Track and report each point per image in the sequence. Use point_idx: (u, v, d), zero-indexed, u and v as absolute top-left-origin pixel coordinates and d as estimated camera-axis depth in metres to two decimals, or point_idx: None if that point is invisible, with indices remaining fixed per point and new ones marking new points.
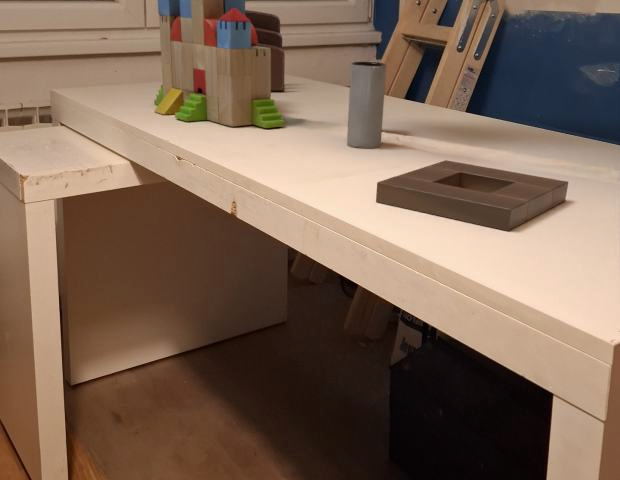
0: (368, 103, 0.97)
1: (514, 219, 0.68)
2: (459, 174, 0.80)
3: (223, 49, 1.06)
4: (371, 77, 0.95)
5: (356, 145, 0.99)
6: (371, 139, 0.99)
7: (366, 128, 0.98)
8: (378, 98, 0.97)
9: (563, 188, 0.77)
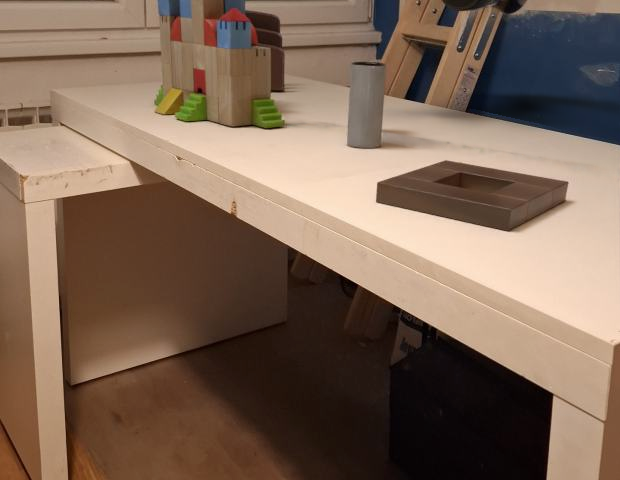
0: (368, 103, 0.97)
1: (514, 219, 0.68)
2: (459, 174, 0.80)
3: (223, 49, 1.06)
4: (371, 77, 0.95)
5: (356, 145, 0.99)
6: (371, 139, 0.99)
7: (366, 128, 0.98)
8: (378, 98, 0.97)
9: (563, 188, 0.77)
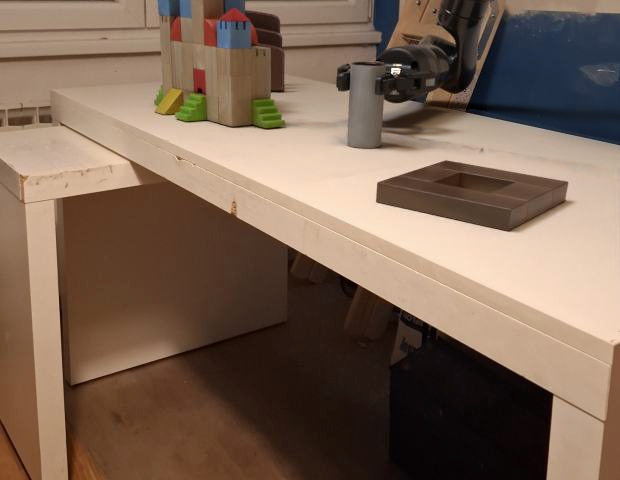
0: (368, 103, 0.97)
1: (514, 219, 0.68)
2: (459, 174, 0.80)
3: (223, 49, 1.06)
4: (371, 77, 0.95)
5: (356, 145, 0.99)
6: (371, 139, 0.99)
7: (366, 128, 0.98)
8: (378, 98, 0.97)
9: (563, 188, 0.77)
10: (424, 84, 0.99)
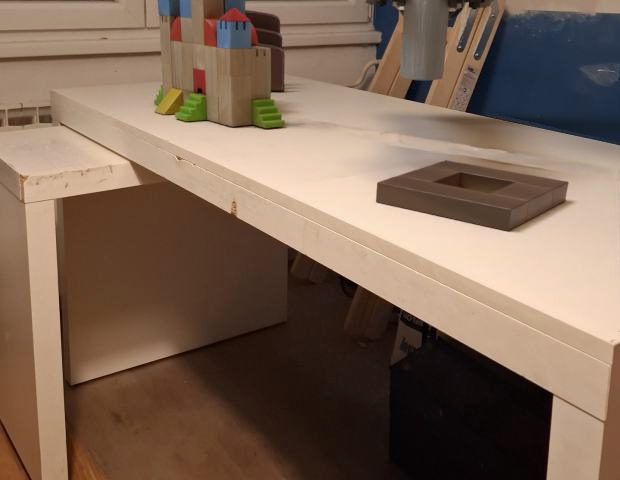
0: (437, 20, 0.75)
1: (514, 219, 0.68)
2: (459, 174, 0.80)
3: (223, 49, 1.06)
4: None
5: (420, 77, 0.77)
6: (438, 68, 0.77)
7: (433, 54, 0.76)
8: (446, 13, 0.76)
9: (563, 188, 0.77)
10: None
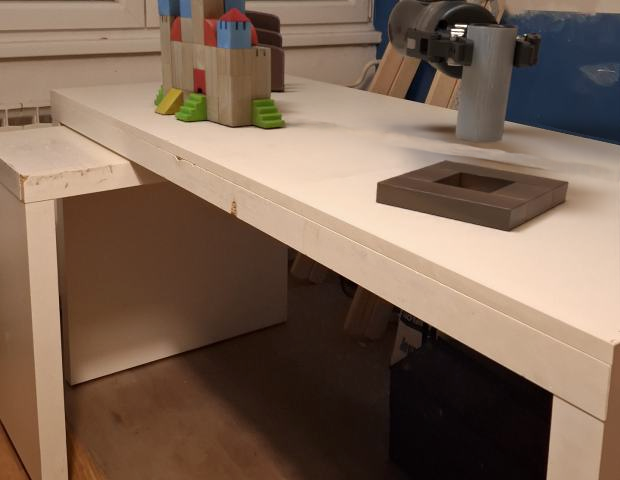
0: (503, 80, 0.70)
1: (514, 219, 0.68)
2: (459, 174, 0.80)
3: (223, 49, 1.06)
4: (510, 44, 0.69)
5: (483, 140, 0.72)
6: (500, 129, 0.72)
7: (498, 115, 0.71)
8: (511, 72, 0.71)
9: (563, 188, 0.77)
10: None
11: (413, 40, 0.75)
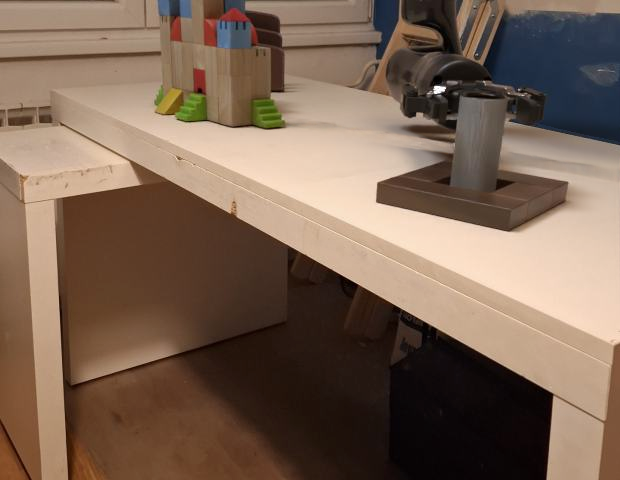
0: (494, 148, 0.73)
1: (514, 219, 0.68)
2: None
3: (223, 49, 1.06)
4: (500, 114, 0.71)
5: None
6: None
7: (489, 180, 0.74)
8: (501, 140, 0.73)
9: (563, 188, 0.77)
10: None
11: (402, 95, 0.79)
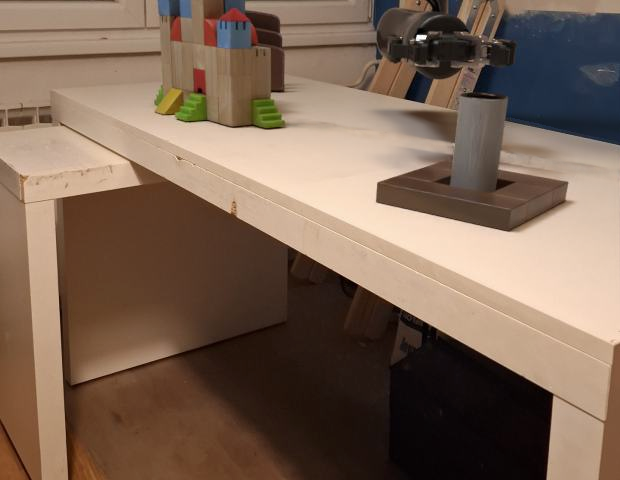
0: (494, 148, 0.73)
1: (514, 219, 0.68)
2: None
3: (223, 49, 1.06)
4: (500, 114, 0.71)
5: None
6: None
7: (489, 180, 0.74)
8: (501, 140, 0.73)
9: (563, 188, 0.77)
10: None
11: (389, 44, 0.88)
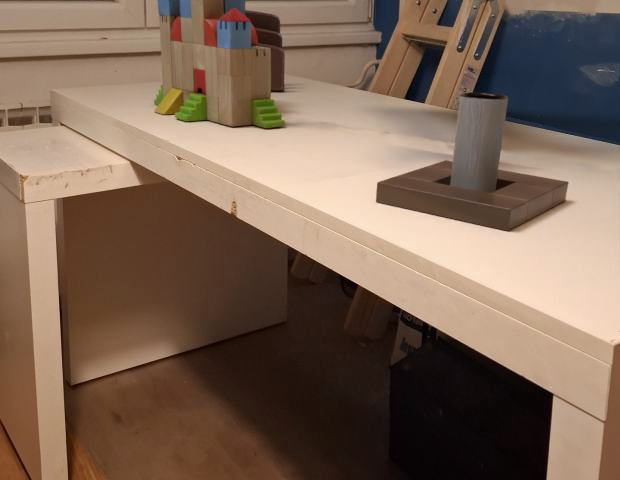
0: (494, 148, 0.73)
1: (514, 219, 0.68)
2: None
3: (223, 49, 1.06)
4: (500, 114, 0.71)
5: None
6: None
7: (489, 180, 0.74)
8: (501, 140, 0.73)
9: (563, 188, 0.77)
10: None
11: None
